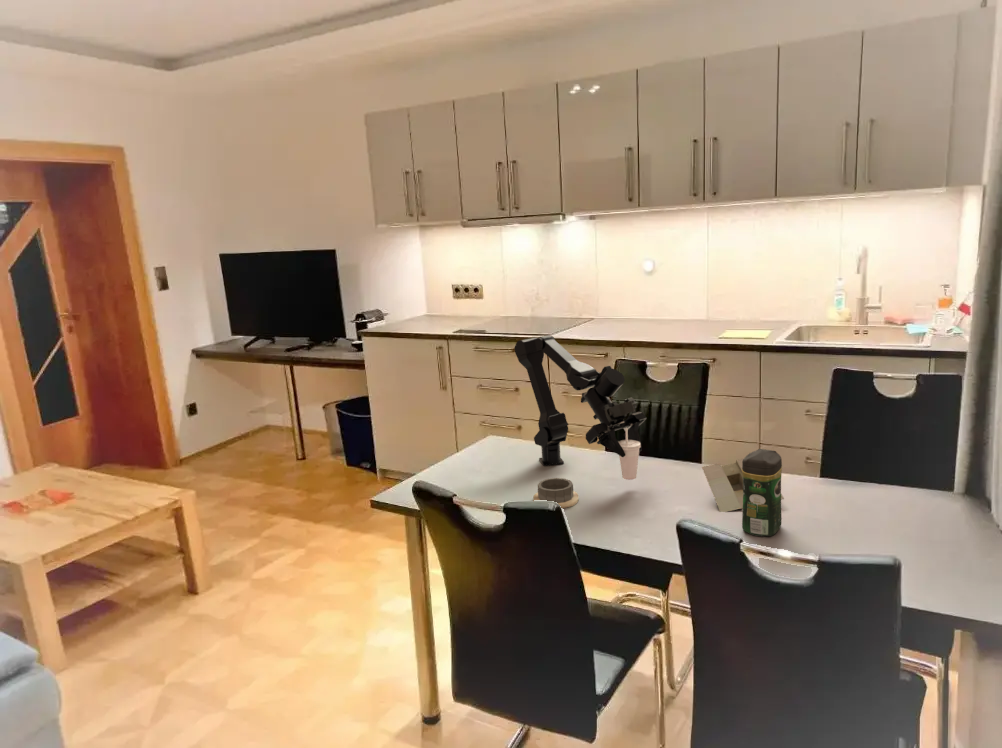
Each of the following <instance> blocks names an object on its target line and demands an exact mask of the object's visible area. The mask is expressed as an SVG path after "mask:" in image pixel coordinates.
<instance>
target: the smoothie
mask: <svg viewBox="0 0 1002 748" xmlns="http://www.w3.org/2000/svg"><path fill="white" fill-rule="evenodd" d="M625 431H626V437H625V439H622V440H618V442H619V444H620V446H621V447H622V449H623V451H624V453H625V456H624V457H621V456H620V455H618V456H619V462H620V464H619V465H620V468H621V475H622V478H623V479H624V480H628V481H629V480H636V479H637V474H638V464H639V457H640V451H639V448H640V447H641V446H642V443H641V444H640V442H641V441H640V442H639V441H636V440H628V428H625V430H624V432H625Z"/></svg>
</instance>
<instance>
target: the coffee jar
mask: <svg viewBox="0 0 1002 748" xmlns="http://www.w3.org/2000/svg"><path fill="white" fill-rule="evenodd" d="M742 459H743V458H742ZM782 469H783V463H782V456H781V455H780V454H779V453H778V452H777V451H776V450H774V449H773V450H772V449H771V450H770V449H764V448H758V449H756V450H754V451H752V452H749V453H748V454H747V455H746V456H745V457H744V459H743V461H742V474H743V509H742V515H741V516H742V517H741V518H742V519H741V522H742V523H741V524H742V525H741V527H742V530H743V532H746V533H748V534H749V535H752V536H756V537H772V536H774V535H776V533H778V532H779V530H780V528H781V527H782V500H781V494H782V471H783V470H782Z"/></svg>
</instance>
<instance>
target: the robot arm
mask: <svg viewBox="0 0 1002 748" xmlns="http://www.w3.org/2000/svg"><path fill="white" fill-rule="evenodd" d="M514 353H515V356H516V358H517V360H518V362H519V363H520V365H522V366H523V368H525V369H526V372H527V374H528V378H529V381H530V382H529V383H530V384H531V387H532V391H533V394H534V397H535V401H536V404H537V407H538V410H539V419H538V421H537V423H538V424H537V426H538V429H539V430H538V431H537V433H536V434H535V436H533V441H534V445H536V446H540V448H541V457H539V458H538V460H539V462H540V463H541V464H542V466H554V465H555V466H556V465H561V464H564V463H565V462H564V460H563V459H562V457H561V443H562V442H565V441H566V439H567V436H568V432H569V423H568V421H567V418H566V413H564V412H560V411H559V410H558V409H557V408H556V405H555V402H554V398H553V395H552V392H551V388H550V386H549V382H548V379H547V377H546V373H545V370H544V366H543V361H544V358H545V357H544V356H545V355H546V356H547V358H549V359H550V360H551V361H552V362H553V363H554V364H556V366H558V367H559V369H561V370H562V371H563V372H564V373H565V375H566V380H567V382H568V383H569V384H570V385H571V387H572V388H573V389H574V390H575V391H582V390H586V389H588V390H586V392H582V393H581V398H580V403H581V404H582V403H583V404H584V403H586V402H587V403H588V406H589V407H590V408H591V410H592V412H593V413H594V415H593V419H594V420H598V421H599V423H597V424H594V425H592V426H591V428H590V429H589V430H588V431H587V432H586V433H585V440H586V441H587V443H588V445H591V444H594V443H596V444H597V445H601V446H603V447H605V448H607V449H608V450H610V451H612V452H613V453H615V454H617V455H618V456H619V455H620V456H621V457H624V456H625V453H624V451H623V449H622V447H621V446H620V444H619V440H618V439H617V436H616V431H618V430H622V429H623V430H624V432H625V433H623V436H624V438H626V431H625V428H628V440H636V441H639V442H640V444H641V447H640V448H639V452H642V450H643V447H642V442H641V439H640V433H639V428H640V426H641V425H642V424H643V423H644V422H645V421H646V420H647V416H646V415H645V414H644V413H643V412H641V411H637V412H636V410H635V409H637V408H638V404H637V402H636V400H635V398H633V397H628V398H626V399H625V398H624V400H623V402H622V403H618V402H616V401H614V402H612V400H611V398H610V397H613V396H614V395H615V394H616V392H618V390H619V389H621V387H622V386H623V385H624V383H625V376H624V374H623V373H622V372H620V371H619V370H618V369H615V368H612V366H611V365H606V366H604V367H602V370H601V372H599V371H597V369H595V368H594V367H592V366H591V365H590V364H588V363H585V362H582V361H579V360H577V359H576V358H575V357H574V356H573V355H572V354H571V353H570V352H569V351H567V350H566V349H565V347H563V346H562V345H561V344H560V343H558V342H557V341H556V339H555V338H554V336H553V335H550V334H547V335H544V336H539V337H530V338H524V339H520V340H517V341H516V342H515V345H514ZM628 414H630V415H628ZM624 419H625V420H624Z"/></svg>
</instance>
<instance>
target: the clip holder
mask: <svg viewBox="0 0 1002 748" xmlns="http://www.w3.org/2000/svg"><path fill="white" fill-rule="evenodd" d="M579 497H580V496H579V494H578V493H577V492H576V491H575V490H574V483H573V481H572V480H570V479H567V478H564V477H563V478H562V477H561V478H560V477H552V478H546V479H543V480H540V481H539V482H538V483H537V492H536V493H534V495H533V498H532V499H533V501H534V500H547V501H554V502H557V503H558V504H559V505H560V506H561V508H562V509H566V508H570V507H574V506H575V505H577V503H578V502H579V499H580V498H579Z"/></svg>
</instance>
